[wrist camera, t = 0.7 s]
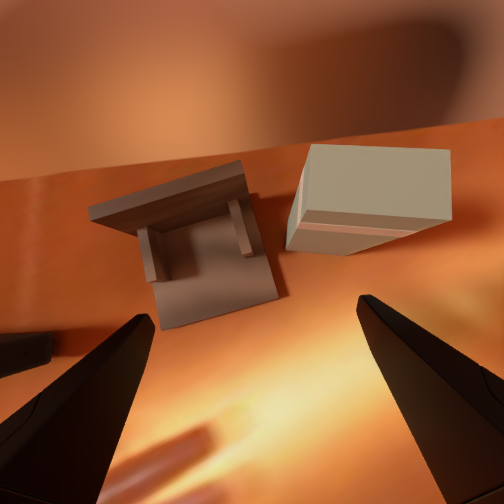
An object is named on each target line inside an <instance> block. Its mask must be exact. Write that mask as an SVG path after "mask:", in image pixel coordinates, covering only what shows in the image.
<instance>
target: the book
mask: <svg viewBox="0 0 504 504" xmlns="http://www.w3.org/2000/svg"><path fill="white" fill-rule="evenodd" d="M451 220H452V199H451V164H450V150H444V149H420V148H396V147H372V146H348V145H324V144H311V147H310V150H309V154H308V157H307V160H306V163H305V167H304V169H303V172H302V175H301V178H300V183H299V186H298V189H297V193H296V196H295V199H294V202H293V206H292V209H291V212H290V215H289V218H288V225H287V236H286V248H285V250H286V251H296V252H307V253H318V254H328V255H339V256H347V255H350V254H353V253H356V252H359V251H362V250H365V249H368V248H371V247H374V246H377V245H380V244H383V243H386V242H389V241H392V240H395V239H398V238H401V237H405V236H408V235H411V234H414V233H417V232H419V231H421V230H424V229H427V228H430V227H433V226H436V225H439V224H442V223H445V222H448V221H451Z"/></svg>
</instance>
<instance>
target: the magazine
mask: <svg viewBox="0 0 504 504" xmlns="http://www.w3.org/2000/svg"><path fill="white" fill-rule="evenodd" d="M52 338H53V333H52V332H44V333H30V334H1V335H0V378H3V377H6V376H9V375H13V374H16V373H19V372H22V371H26V370H29V369H32V368H35V367H39V366H42V365H45V364H48V363H49V362H50V361H51V354H53V353H54V339H52Z"/></svg>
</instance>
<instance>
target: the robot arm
mask: <svg viewBox="0 0 504 504" xmlns="http://www.w3.org/2000/svg"><path fill="white" fill-rule="evenodd" d="M356 312H357V316H358V319H359V321H360V324H361V327H362V329H363V332H364V335H365V337H366V340H367V343H368V345H369V348H370V350H371V353H372V355H373V357H374V359H375V361H376V363H377V365H378V367H379V369H380V371H381V373H382V375H383V377H384V379H385V381H386V383H387V385H388V387H389V389H390V391H391V393H392V395H393V397H394V399H395V401H396V403H397V405H398V407H399V409H400V411H401V413H402V415H403V417H404V419H405V421H406V423H407V425H408V427H409V429H410V431H411V433H412V435H413V437H414V439H415V441H416V443H417V445H418V447H419V449H420V451H421V453H422V455H423V457H424V459H425V461H426V463H427V465H428V467H429V469H430V471H431V473H432V475H433V477H434V479H435V481H436V483H437V485H438V487H439V489H440V491H441V493H442V495H443V497H444V499H445V501H446V503H447V504H504V380H503V379H501V378H500V377H498V376H497V375H495V374H494V373H492V372H490V371H489V370H487V369H486V368H484V367H483V366H479V364H478V363H476V362H475V361H473V360H472V359H470V358H469V357H467V356H466V355H464V354H462V353H461V352H459V351H458V350H456V349H455V348H453V347H452V346H450V345H448V344H447V343H445V342H444V341H442V340H441V339H439V338H438V337H436V336H435V335H433V334H431V333H430V332H428V331H427V330H425V329H424V328H422V327H421V326H419V325H417V324H416V323H414V322H413V321H411V320H410V319H408V318H407V317H405V316H404V315H402V314H400V313H399V312H397V311H396V310H394V309H393V308H391V307H390V306H388V305H386V304H385V303H383V302H382V301H380V300H379V299H377V298H376V297H374V296H372V295H370V294H368V295H360V296H359V299H358V303H357V308H356ZM154 333H155V325H154V323H153V321H152V320H151V318H150V316H149V315H148V314H138V315H136V316H135V317H133V318H132V319H131V320H130V321H128V322H127V323H126V324H125V325H123V326H122V327H121V328H120V329H118V330H117V331H116V332H115V333H113V334H112V335H111V336H110V337H108V338H107V339H106V340H105V341H103V342H102V343H101V344H100V345H99V346H97V347H96V348H95V349H94V350H92V351H91V352H90V353H89V354H87V355H86V356H85V357H84V358H82V359H81V360H80V361H79V362H77V363H76V364H75V365H74V366H72V367H71V368H70V369H69V370H67V371H66V372H65V373H64V374H62V375H61V376H60V377H59V378H57V379H56V380H55V381H54V382H53V383H51V384H50V385H49V386H48V387H46V388H45V389H44V390H43V391H42V392H40V393H39V394H38V395H36V396H35V397H34V398H33V399H31V400H30V401H29V402H28V403H26V404H25V405H24V406H23V407H21V408H20V409H19V410H17V411H16V412H15V413H14V414H12V415H11V416H10V417H9V418H7V419H6V420H5V421H3V422H2V423H1V424H0V504H96V502H97V500H98V497H99V494H100V491H101V489H102V486H103V483H104V480H105V477H106V475H107V472H108V469H109V466H110V464H111V461H112V458H113V455H114V453H115V450H116V447H117V444H118V442H119V439H120V436H121V433H122V431H123V428H124V425H125V422H126V420H127V417H128V414H129V411H130V409H131V406H132V403H133V400H134V398H135V395H136V392H137V389H138V387H139V384H140V381H141V378H142V375H143V373H144V370H145V367H146V364H147V360H148V356H149V352H150V348H151V345H152V341H153V337H154Z"/></svg>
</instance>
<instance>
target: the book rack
mask: <svg viewBox="0 0 504 504" xmlns="http://www.w3.org/2000/svg"><path fill="white" fill-rule="evenodd" d="M88 211H89V218H90V221H92V222H95V223H98V224H101V225H104V226H107V227H110V228H113V229H116V230H119V231H122V232H125V233H127V234H130V235H133V236H136V237H138V239H139V244H140V249H141V254H142V260H143V265H144V270H145V275H146V281H147V283H152V285H153V290H154V296H155V301H156V306H157V311H158V316H159V321H160V326H161V331H164V330H168V329H172V328H175V327H179V326H182V325H186V324H189V323H193V322H196V321H200V320H204V319H207V318H211V317H214V316H218V315H221V314H225V313H228V312H232V311H236V310H239V309H243V308H246V307H250V306H253V305H257V304H260V303H264V302H267V301H271V300H275V299H278V298H279V296H278V293H277V289H276V286H275V283H274V279H273V276H272V273H271V269H270V266H269V263H268V259H267V256H266V252H265V249H264V246H263V242H262V239H261V236H260V232H259V229H258V225H257V222H256V219H255V215H254V212H253V209H252V205H251V201H250V196H249V192H248V187H247V183H246V179H245V174H244V171H243V167H242V164H241V161H240V160H237V161H234V162H231V163H228V164H225V165H221V166H218V167H215V168H212V169H209V170H205V171H202V172H199V173H196V174H193V175H189V176H186V177H183V178H180V179H177V180H173V181H170V182H167V183H164V184H161V185H157V186H154V187H151V188H148V189H145V190H141V191H138V192H135V193H132V194H129V195H125V196H122V197H119V198H116V199H113V200H109V201H106V202H103V203H100V204H97V205H93V206H90V207H88Z"/></svg>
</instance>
